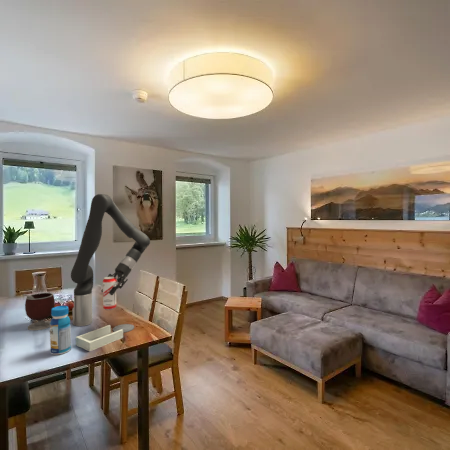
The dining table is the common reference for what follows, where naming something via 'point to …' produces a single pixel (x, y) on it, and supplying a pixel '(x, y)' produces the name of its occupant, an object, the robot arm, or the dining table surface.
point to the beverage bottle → (60, 331)
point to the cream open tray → (89, 345)
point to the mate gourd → (39, 309)
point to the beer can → (108, 299)
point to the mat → (124, 327)
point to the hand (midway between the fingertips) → (106, 293)
